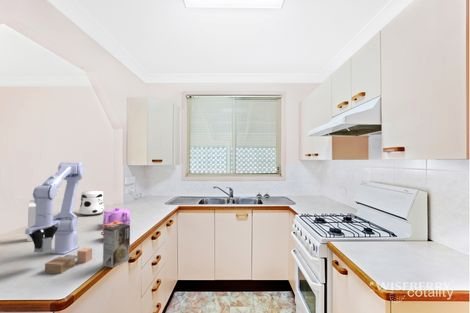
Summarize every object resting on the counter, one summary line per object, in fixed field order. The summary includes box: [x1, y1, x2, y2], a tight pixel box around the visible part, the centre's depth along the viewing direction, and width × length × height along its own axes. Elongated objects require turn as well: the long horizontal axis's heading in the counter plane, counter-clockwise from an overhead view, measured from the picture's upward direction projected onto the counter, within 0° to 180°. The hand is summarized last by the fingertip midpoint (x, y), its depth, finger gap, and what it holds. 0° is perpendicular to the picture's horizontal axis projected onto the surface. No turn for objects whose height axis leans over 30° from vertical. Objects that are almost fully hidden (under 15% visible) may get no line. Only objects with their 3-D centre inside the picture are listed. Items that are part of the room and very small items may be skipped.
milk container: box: [79, 190, 105, 216], centre depth 197 cm, size 17×17×18 cm
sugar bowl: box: [100, 221, 123, 238], centre depth 139 cm, size 12×14×10 cm
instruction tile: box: [63, 254, 77, 259], centre depth 110 cm, size 8×6×1 cm
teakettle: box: [102, 206, 131, 228], centre depth 166 cm, size 17×17×12 cm
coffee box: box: [102, 223, 131, 269], centre depth 107 cm, size 9×6×16 cm
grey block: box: [33, 236, 53, 254], centre depth 102 cm, size 4×4×5 cm
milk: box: [26, 199, 43, 242], centre depth 135 cm, size 6×6×22 cm
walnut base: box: [44, 256, 76, 274], centre depth 100 cm, size 7×7×4 cm
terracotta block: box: [76, 247, 93, 264], centre depth 109 cm, size 4×4×5 cm
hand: (43, 246), depth 102 cm, fingers closed on grey block, 4 cm apart
